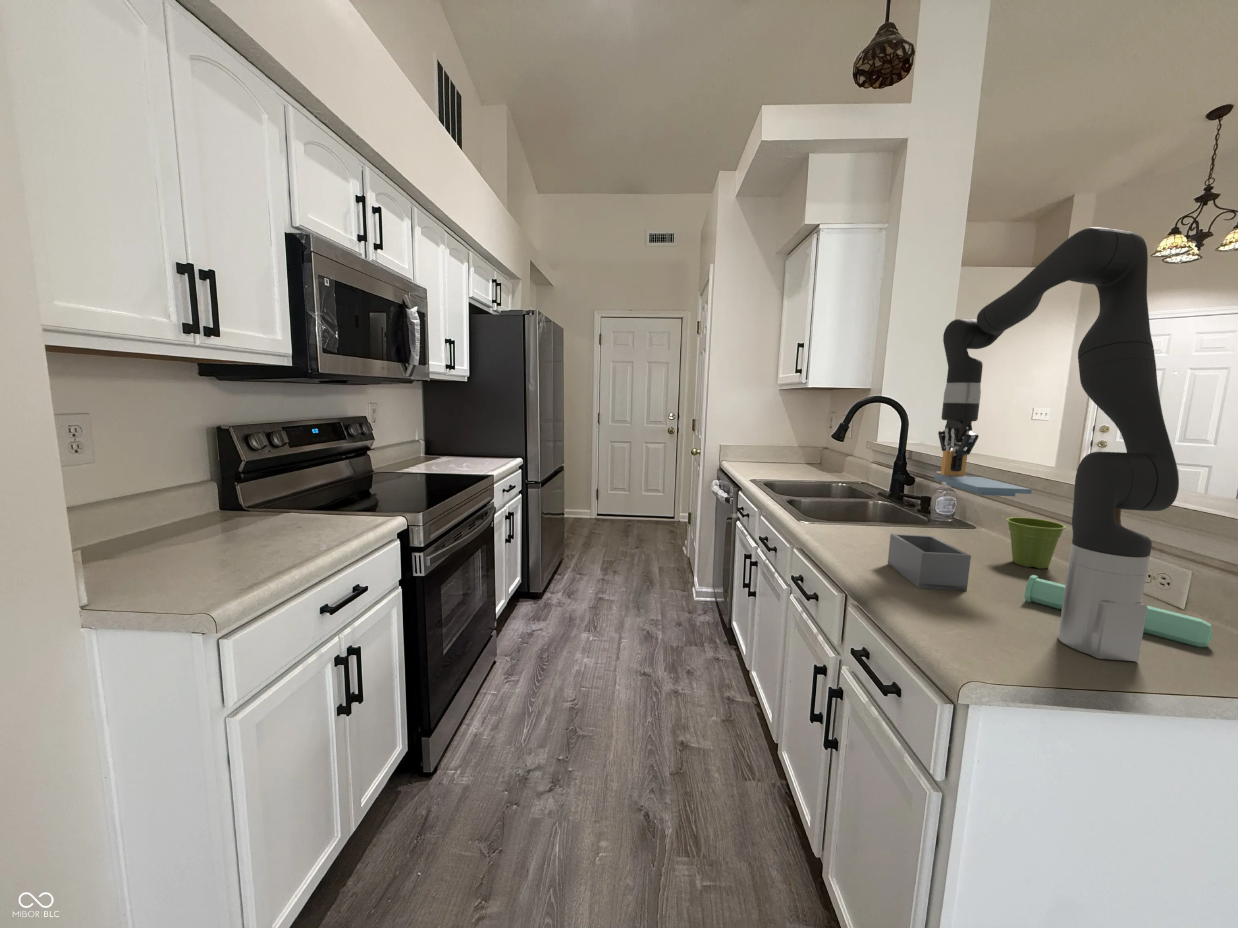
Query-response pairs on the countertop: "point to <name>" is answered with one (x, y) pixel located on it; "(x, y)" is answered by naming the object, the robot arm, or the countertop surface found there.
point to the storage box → (929, 562)
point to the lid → (975, 480)
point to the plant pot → (1033, 540)
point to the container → (1155, 622)
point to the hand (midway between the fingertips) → (953, 470)
